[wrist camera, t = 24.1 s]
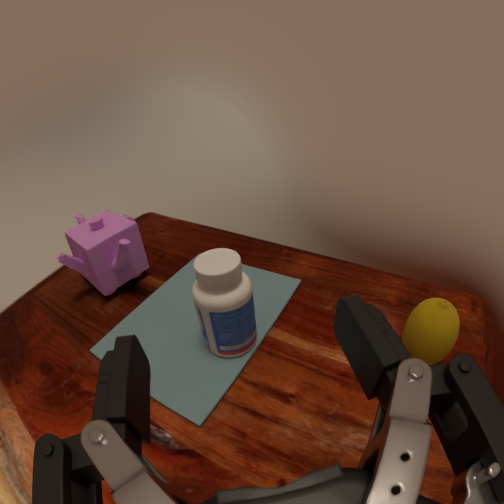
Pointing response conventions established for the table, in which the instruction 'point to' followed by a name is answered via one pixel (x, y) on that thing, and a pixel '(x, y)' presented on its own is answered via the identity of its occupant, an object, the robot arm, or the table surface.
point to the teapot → (106, 250)
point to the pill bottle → (224, 303)
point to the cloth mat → (194, 341)
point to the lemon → (431, 330)
